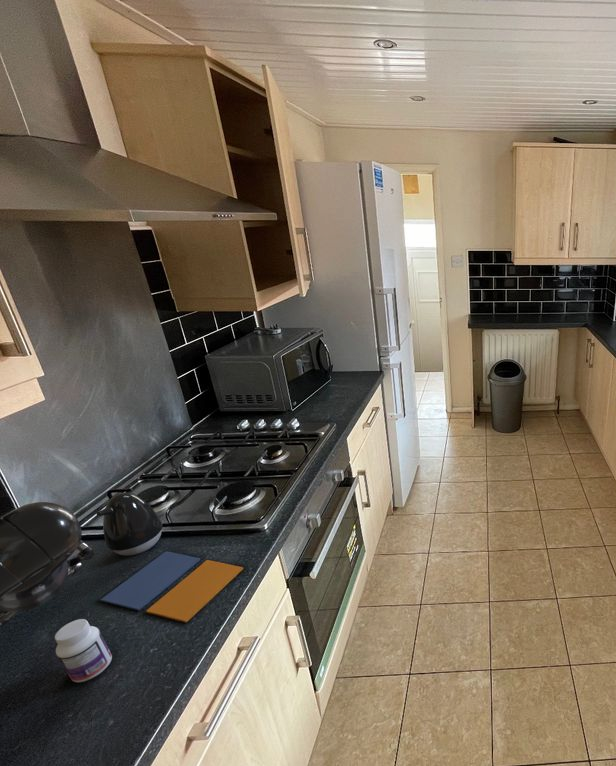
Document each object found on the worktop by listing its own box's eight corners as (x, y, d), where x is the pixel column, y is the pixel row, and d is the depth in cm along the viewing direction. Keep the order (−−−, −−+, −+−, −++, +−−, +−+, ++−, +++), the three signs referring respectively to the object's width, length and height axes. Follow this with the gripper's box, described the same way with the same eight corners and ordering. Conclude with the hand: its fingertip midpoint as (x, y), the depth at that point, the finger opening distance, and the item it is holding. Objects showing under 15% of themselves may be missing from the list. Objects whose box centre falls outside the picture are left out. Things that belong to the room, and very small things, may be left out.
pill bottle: (81, 659, 75) (59, 621, 72) (118, 649, 77) (99, 611, 74) (64, 688, 71) (40, 649, 67) (104, 676, 72) (83, 637, 69)
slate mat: (138, 610, 85) (138, 609, 84) (101, 601, 87) (100, 599, 87) (200, 559, 97) (200, 558, 97) (166, 552, 99) (165, 551, 99)
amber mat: (186, 622, 82) (185, 621, 82) (146, 612, 84) (145, 610, 84) (243, 568, 95) (243, 567, 95) (207, 561, 97) (207, 559, 97)
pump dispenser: (99, 561, 97) (74, 508, 91) (141, 530, 106) (121, 480, 101) (138, 565, 96) (115, 511, 90) (177, 533, 105) (159, 483, 100)
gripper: (67, 516, 60) (70, 541, 70) (-78, 607, 49) (-50, 621, 59) (109, 550, 61) (106, 570, 71) (-23, 647, 50) (-4, 654, 60)
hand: (36, 593), depth 65 cm, fingers open, 8 cm apart
